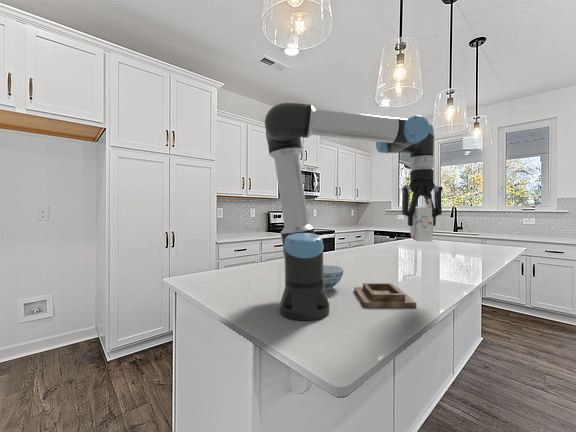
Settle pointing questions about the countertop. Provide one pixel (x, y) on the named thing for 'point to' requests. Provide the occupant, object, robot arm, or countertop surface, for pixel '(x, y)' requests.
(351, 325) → the countertop surface
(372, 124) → the robot arm
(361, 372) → the countertop surface
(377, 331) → the countertop surface
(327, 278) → the chinaware
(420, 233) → the ink cartridge box
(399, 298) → the walnut bay board
